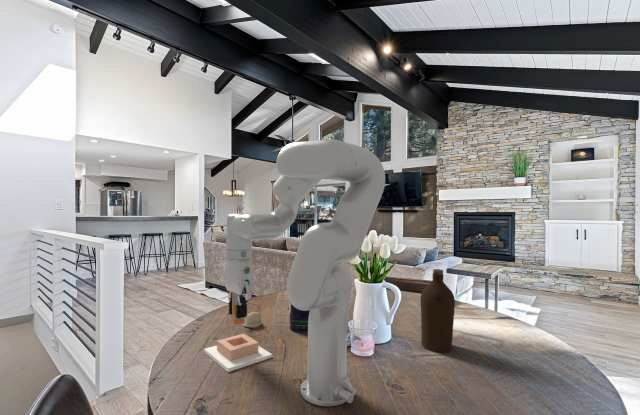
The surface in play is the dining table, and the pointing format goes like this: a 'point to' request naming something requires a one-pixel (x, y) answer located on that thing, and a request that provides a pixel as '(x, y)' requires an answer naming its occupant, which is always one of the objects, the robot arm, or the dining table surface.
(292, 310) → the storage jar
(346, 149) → the robot arm
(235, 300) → the supplement box
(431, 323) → the olive oil
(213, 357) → the socket holder
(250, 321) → the decorative ornament
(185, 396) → the dining table surface
